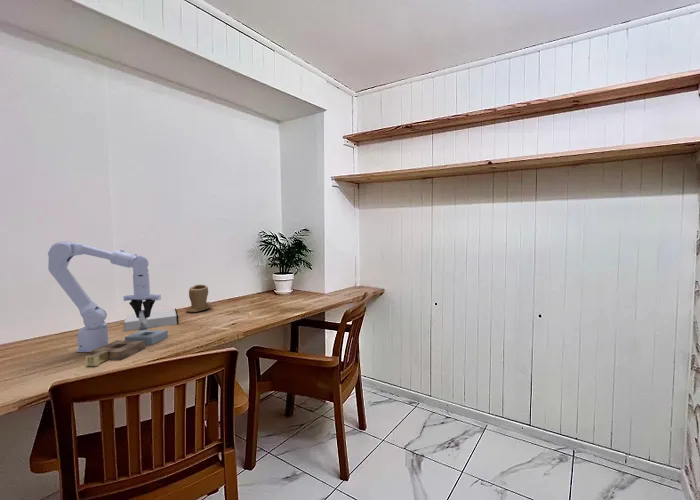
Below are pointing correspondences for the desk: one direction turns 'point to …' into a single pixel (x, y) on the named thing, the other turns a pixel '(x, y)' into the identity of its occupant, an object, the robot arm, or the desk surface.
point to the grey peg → (142, 320)
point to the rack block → (148, 336)
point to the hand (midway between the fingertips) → (143, 317)
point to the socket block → (121, 349)
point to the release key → (96, 358)
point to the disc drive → (152, 319)
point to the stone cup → (198, 298)
